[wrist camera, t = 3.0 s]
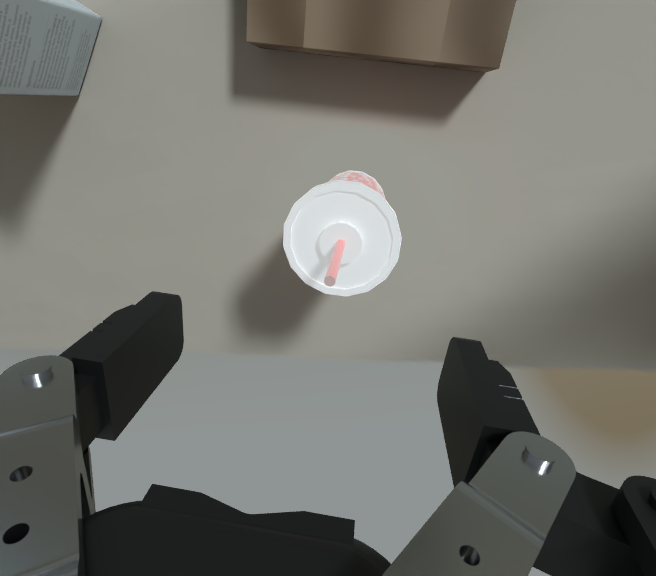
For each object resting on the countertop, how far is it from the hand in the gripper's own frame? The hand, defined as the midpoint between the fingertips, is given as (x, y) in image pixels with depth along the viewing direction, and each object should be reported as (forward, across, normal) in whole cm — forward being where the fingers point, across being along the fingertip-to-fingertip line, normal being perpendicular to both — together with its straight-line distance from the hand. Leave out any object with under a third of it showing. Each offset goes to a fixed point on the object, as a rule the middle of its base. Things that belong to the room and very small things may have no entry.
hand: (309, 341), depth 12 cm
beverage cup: (+19, 0, 0) cm, 19 cm away
